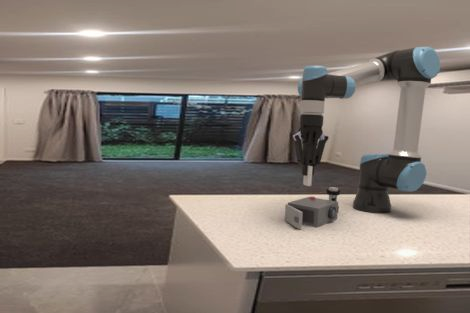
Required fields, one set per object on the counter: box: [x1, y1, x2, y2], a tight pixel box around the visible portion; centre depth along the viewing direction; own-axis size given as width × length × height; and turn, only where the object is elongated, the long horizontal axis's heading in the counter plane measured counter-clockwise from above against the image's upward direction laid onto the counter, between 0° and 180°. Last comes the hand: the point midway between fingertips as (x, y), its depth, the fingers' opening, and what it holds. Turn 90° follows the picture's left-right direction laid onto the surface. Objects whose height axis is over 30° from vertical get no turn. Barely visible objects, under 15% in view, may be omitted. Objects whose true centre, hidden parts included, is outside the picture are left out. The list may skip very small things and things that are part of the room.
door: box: [284, 203, 303, 230], centre depth 137 cm, size 2×12×6 cm, turn 17°
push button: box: [326, 186, 341, 212], centre depth 157 cm, size 7×5×10 cm
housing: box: [287, 195, 339, 228], centre depth 145 cm, size 16×13×7 cm
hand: (307, 185), depth 133 cm, fingers closed
